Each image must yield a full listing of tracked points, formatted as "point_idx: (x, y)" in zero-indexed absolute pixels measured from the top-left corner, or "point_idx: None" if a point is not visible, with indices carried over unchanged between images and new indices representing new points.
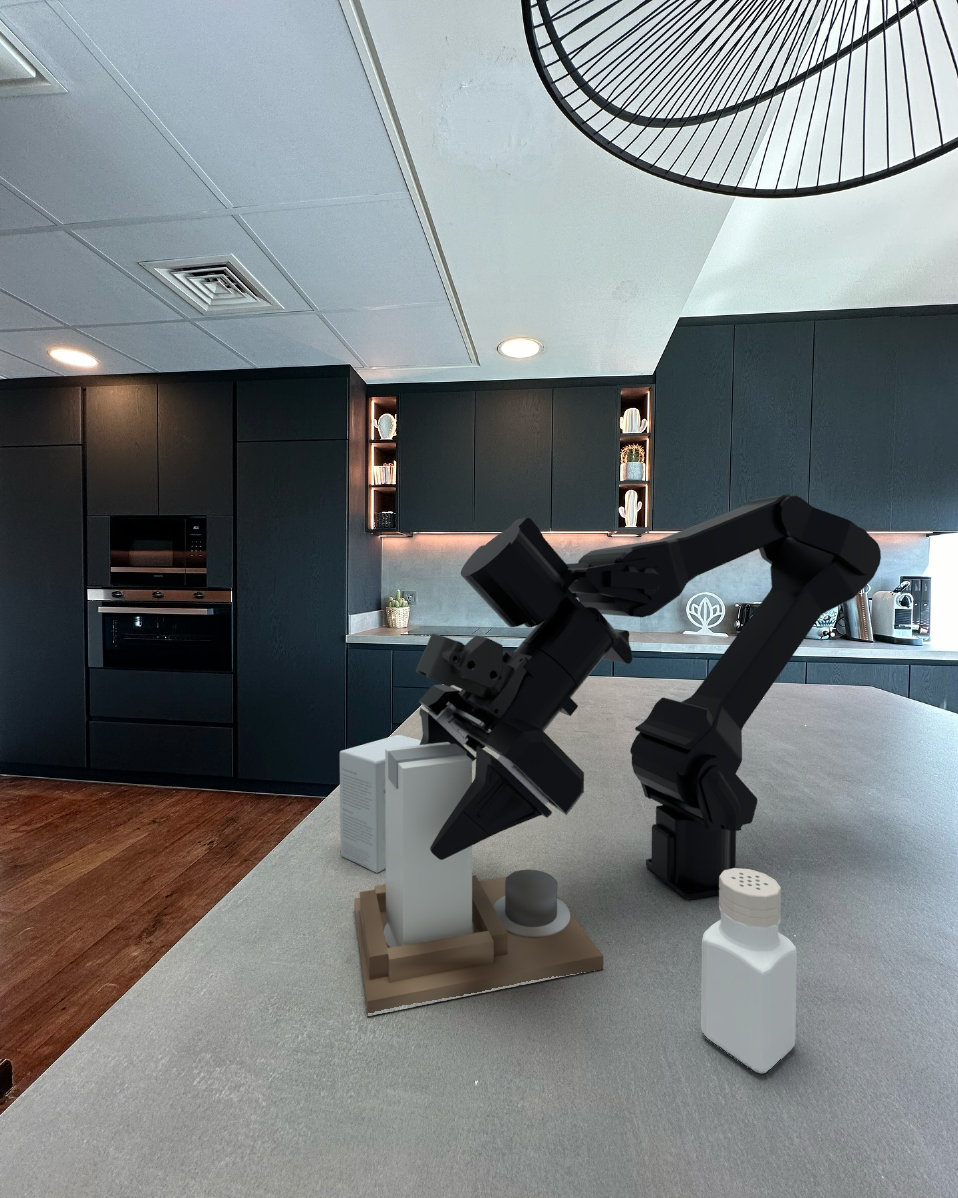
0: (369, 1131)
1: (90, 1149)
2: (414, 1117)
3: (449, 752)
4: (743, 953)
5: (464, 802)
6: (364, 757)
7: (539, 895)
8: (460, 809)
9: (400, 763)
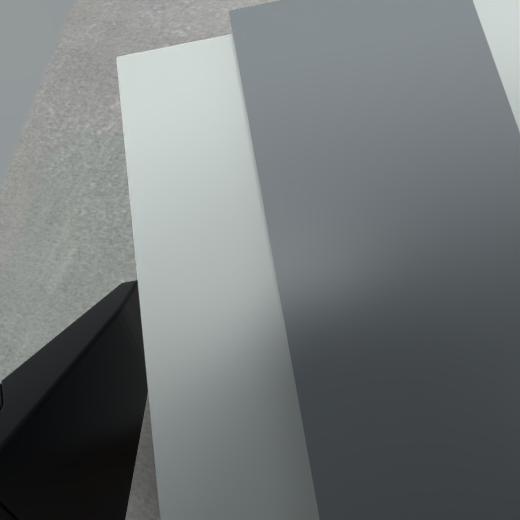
0: (35, 229)
1: (99, 10)
2: (34, 273)
3: (341, 407)
4: None
5: (5, 399)
6: None
7: None
8: (24, 376)
9: (218, 47)
